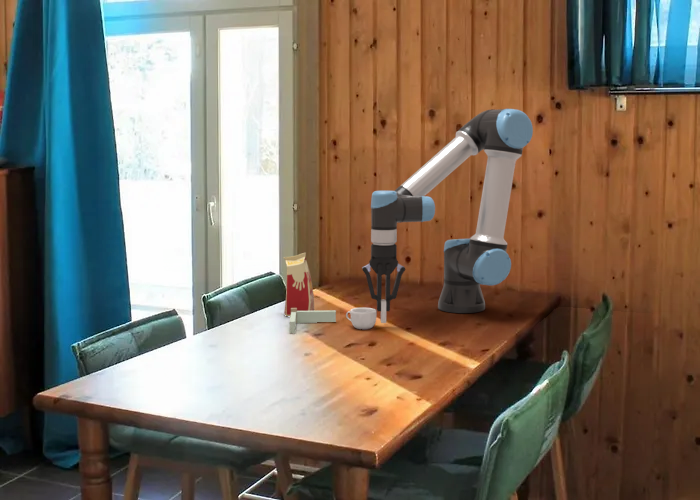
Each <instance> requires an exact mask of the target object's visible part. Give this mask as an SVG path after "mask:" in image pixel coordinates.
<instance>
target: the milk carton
mask: <svg viewBox="0 0 700 500" xmlns="http://www.w3.org/2000/svg"><path fill="white" fill-rule="evenodd" d="M306 254H307V252H303V253H299V254H297V255H292V256H284V257H282V259H284V260H285V264H286V286H285V287H286V288H285V289H286V292H285V301H284V302H285V303H284V313H283V315H284V314H285V315H286V316H291V308H297V311H316V310H315V296H314V290H313V289H314V287H313V283H312V277H311V272H310V268H309V264H308V262H307V261H308V260H307V257H306V256H307V255H306ZM285 315H284V316H285ZM286 316H285V317H286Z"/></svg>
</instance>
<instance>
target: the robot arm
mask: <svg viewBox="0 0 700 500" xmlns="http://www.w3.org/2000/svg"><path fill="white" fill-rule="evenodd" d="M533 133H534V128H533V123H532V120H531V119H530V118H529V116H528V114H526V113H525V112H524V111H522V110H520V109H516V108H515V109H514V108H500V109H495V108H494V109H486V110H484V111H481V112H480V113H478V114H477V115H475V116H474V117H473V118H472V119H470V120H469V121H468V122H467V123H465V124H464V125H463V126H462V127H460V128H459V129H458V130H457V131H456V132H455V137H454V138H453V139H452V140H451V141H450V142H448V143H447V144H446V145H445V146H443V148H441V149H440V150H439V151H438V152H437V153H436V154H434V155H433V156H432V157H431V159H429V160H428V161H427V162H426V163H425V164H424V165H422V166H421V167H420V168H418V170H417V171H415V172H414V173H413V174H411V176H410V177H409V178H407V179H406V180H405V181H404V182H403V183H402V184H400V186H398V187H397V188H395V190H375V191H373V192H372V194H371V202H370V209H371V210H370V214H371V215H370V219H371V221H370V222H371V225H370V226H371V227H370V229H371V230H370V242H371V245H370V259H369V262H368V264H366V265H364V266H362V267H361V269H362V271H363V273H364V275H365V278H366V281H367V285H368V290H369V294H370V298H371V299H373V300H375V301H376V310H377V312H380V323H381V324H386V323H387V312H390V311H391V301H392V300H395V299H396V298H397V295H398V293H399V288H400V284H401V281H402V280H401V279H402V276H403V274H404V273H405V271H406V267H405V266H404V265H402V264H400V263H399V261H398V258H397V255H398V252H397V250H398V249H397V244H396V243H397V242H398V240H397V239H398V238H397V236H398V234H397V232H398V229H397V227H398V223H417V222H418V223H423V222H431V221H432V220H433V219H434V216H435V213H436V205H435V201H434V199H433V198H432V197H431V196H426V195H428V194H429V193H430V192H431V191H432V190H433V189H434V188H436V187H437V186H438V185H439V184H440V183H441V182H442V181H444V180H445V179H446V178H447V177H448V176H449V175H450V174H451V173H452V172H454V171H455V170H456V169H457V168H459V167H460V166H461V165H462V164H463V163H464V162H465V161H466V160H467V159H468V158H470V157H471V156H476V155H478V154H480V152H481V151H483V152H484V153H485V154H486V156H487V160H486V167H485V172H484V180H483V186H482V192H481V199H480V204H479V210H478V216H477V223H476V224H477V225H476V228H475V234H473V235H472V236H470V237H469V238H458V239H447V240H446V241H445V242H444V246H443V287H442V290H441V293H440V296H439V299H438V301H437V302H438V304H437V309H438V310H439V311H443V312H448V313H455V314H474V313H480V312H483V311H485V309H486V302H485V299H484V294H483V292H482V288H481V285H483V286H496V285H499V284H501V283H502V282H503V281H505V280H506V279H507V277H508V276H509V274H510V272H511V269H512V260H511V258H510V255H509V253H507V249H508V242H507V241H506V240H505V238H504V236H505V231H506V224H507V219H508V218H507V217H508V213H509V212H508V211H509V205H510V200H511V193H512V187H513V182H514V174H515V173H514V172H515V170H516V168H515V167H516V163H517V160H518V159H520V158H521V157H522V156H523V150H524V147H526V146H527V145H528V144H529V143H530V142H531V140H532V137H533ZM371 269H372V270H373V271H374V273H375V274H376V293H375V291H374V290H375V289H374V285H373V281H372V276H371V274H370V272H371V271H372V270H371ZM395 270H396V276H395V280H394V285H393V289H392V292H391V274H392V273H393V272H394V271H395ZM384 275H385V299H382V289H383V288H382V283H383V282H382V278H383V277H382V276H384Z"/></svg>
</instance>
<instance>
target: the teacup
mask: <svg viewBox="0 0 700 500" xmlns="http://www.w3.org/2000/svg"><path fill="white" fill-rule="evenodd" d="M377 312H378V310H377V308H376V309H375V308H371V307H354V308H351V309H350V310H349V311H347V312H345V317H346V319H348V321H350V322H351V324H352V326H353V327H354V328H355V329H357V330H361V329H362V330H370V329H372V328H373V327H374V326H375V324H376V322H377ZM348 314H349V315H350V317H349V315H348Z"/></svg>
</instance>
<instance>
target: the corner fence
mask: <svg viewBox="0 0 700 500" xmlns="http://www.w3.org/2000/svg"><path fill="white" fill-rule="evenodd" d="M336 313H337V310H315V311H297V308H291V316H290V317H289V334H290V333H295V334H296V329H297V324H318V323H317V322H336V323H337V317H336V315H337V314H336Z"/></svg>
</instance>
